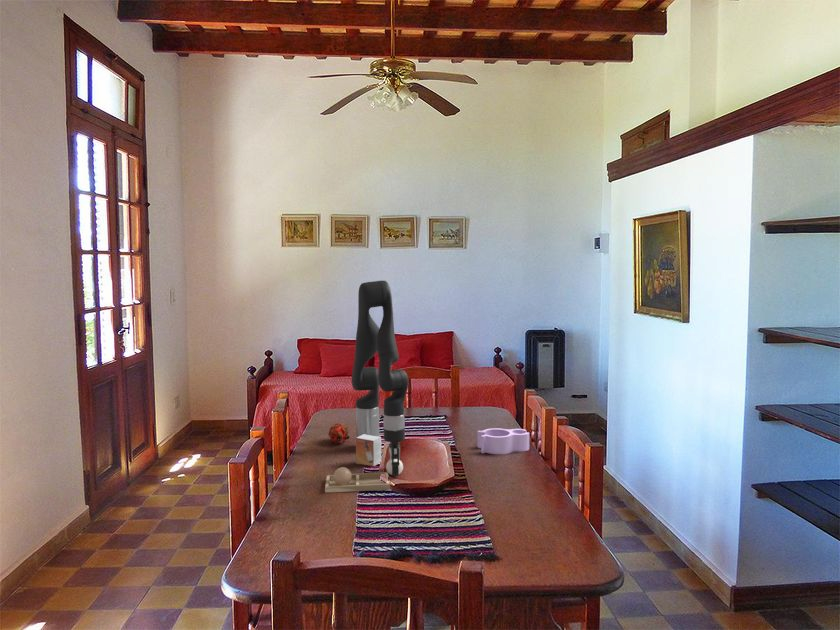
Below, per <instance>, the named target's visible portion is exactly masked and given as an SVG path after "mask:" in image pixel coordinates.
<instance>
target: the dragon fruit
mask: <svg viewBox="0 0 840 630" xmlns="http://www.w3.org/2000/svg"><path fill="white" fill-rule="evenodd" d="M348 429H349V427H348V426H347V425H344V424H343V423H342V422H341V423H334V424H333V425H332V426H331V427H330V428H329V431H328V437H329V440H330V441H331V442H332V443H333V444H334V445H339V444H340V443H341V444H342V443H345V442H346V441H347V440H349V439H350V438H351V435H349V434H350V433H349V430H348Z"/></svg>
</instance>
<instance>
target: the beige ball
mask: <svg viewBox="0 0 840 630" xmlns="http://www.w3.org/2000/svg"><path fill="white" fill-rule="evenodd" d="M351 474H352V472H351V471H350V469H348V467H344V466H342V467H339V468H337V469H336V470H335V471H334V473H333V475H334V481H335V483H336V484H338V485H340V486H342V485H347V484H348V483H349V482H350V481H351V477H352V475H351Z"/></svg>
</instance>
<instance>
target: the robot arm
mask: <svg viewBox="0 0 840 630" xmlns="http://www.w3.org/2000/svg"><path fill="white" fill-rule="evenodd" d="M357 293H358V303H357V304H358V307H357V309H358V314H357V315H358V316H357V327H356V335H355V351H354V361H353V365H352V373H351V387H352V389H353V390H355V391H361V392H362V391H368V392H367V393H366V394H365V395H363V396H361V397H358V398H357V399H356V401H355V420H356V424H355V426H356V427H355V428H356V429H355V430H356V438H357V437H359V436H361V435H363V434H366V435H371V436H378V437H380V410H379V408H380V405H379V404H380V403H379V400H380V393H379V392H380V389H381V390H382V391H383V392H386V393H387V392H389V393H390V392H392V393H391V394H390V395H389V396H387V397H386V398H384V400H383V428H382V429H383V440H384V442H387V443H388V453H389V460H390V459H391V460H392V463H391V465H392V475H391V476H392V477H398V476H399V475H400V474H399V464H400V463H399V460H400V458H401V444H400V442H403V441H405V438H406V430H405V429H406V426H405V425H406V423H405V421H406V420H405V399H406V394H407V391H408V387H409V376H408V374H407V372H406V371H405V370H404V369H393V370H392V369H391V368H392V365H393V364H395V363H397V362H399V359H400V355H399V351H398V347H397V341H396V336H395V335H396V334H395V327H394V326H395V325H394V323H395V322H394V311H393V310H394V309H393V308H394V307H393V297H392V291H391V287H390V285H389V283H388V281H386V280H375V281H366V282H361V284H360V285H359V288H358V292H357ZM378 307H382V314H383V315H382V319H381V323H380V326H378V324H377V323H376V322H375V320H374V319H373V317H371V314H370V309H371V308H372V309H373V308H378ZM376 353H377V356H378V368H377V367H376V366H367V367H366V364H367V363H368V362H369V361H370V359H372V358H373V357H374V356H375V355H376ZM394 459H397V462H394V461H393V460H394Z"/></svg>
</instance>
